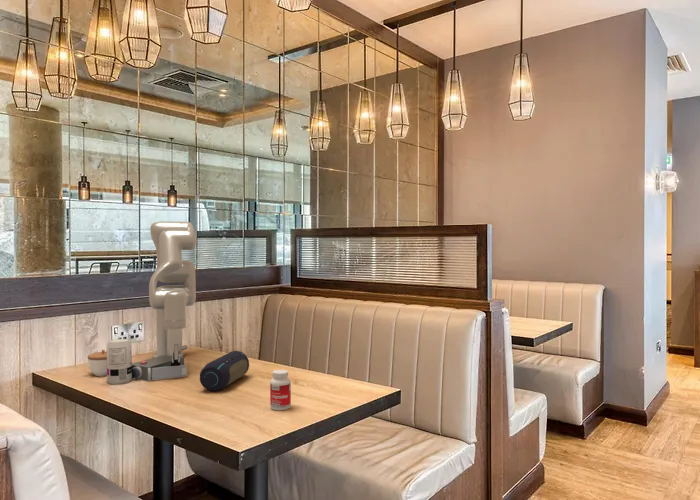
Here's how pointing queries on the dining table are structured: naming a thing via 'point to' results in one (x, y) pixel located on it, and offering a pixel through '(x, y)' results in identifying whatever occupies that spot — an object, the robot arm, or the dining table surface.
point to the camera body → (151, 366)
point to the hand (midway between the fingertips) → (175, 372)
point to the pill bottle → (280, 390)
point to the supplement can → (119, 361)
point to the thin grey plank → (168, 372)
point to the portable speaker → (224, 370)
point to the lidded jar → (98, 363)
